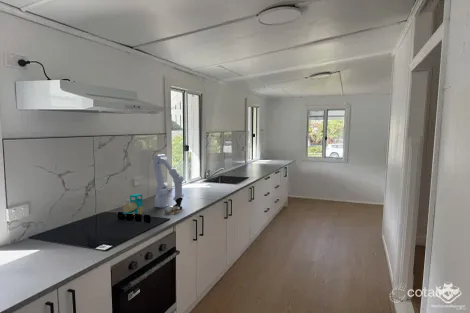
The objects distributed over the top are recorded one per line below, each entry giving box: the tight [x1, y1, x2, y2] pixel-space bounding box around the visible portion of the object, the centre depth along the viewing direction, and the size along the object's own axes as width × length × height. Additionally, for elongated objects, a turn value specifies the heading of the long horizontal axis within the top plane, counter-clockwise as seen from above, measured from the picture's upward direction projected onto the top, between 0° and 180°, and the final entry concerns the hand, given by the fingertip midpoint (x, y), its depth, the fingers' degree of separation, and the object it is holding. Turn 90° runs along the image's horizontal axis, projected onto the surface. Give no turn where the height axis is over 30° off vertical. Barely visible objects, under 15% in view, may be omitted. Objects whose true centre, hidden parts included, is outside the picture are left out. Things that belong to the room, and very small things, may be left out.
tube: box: [164, 203, 179, 213], centre depth 242 cm, size 14×4×4 cm
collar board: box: [163, 205, 184, 215], centre depth 242 cm, size 10×14×4 cm
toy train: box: [122, 193, 144, 216], centre depth 231 cm, size 8×17×15 cm, turn 159°
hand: (178, 207), depth 251 cm, fingers closed
